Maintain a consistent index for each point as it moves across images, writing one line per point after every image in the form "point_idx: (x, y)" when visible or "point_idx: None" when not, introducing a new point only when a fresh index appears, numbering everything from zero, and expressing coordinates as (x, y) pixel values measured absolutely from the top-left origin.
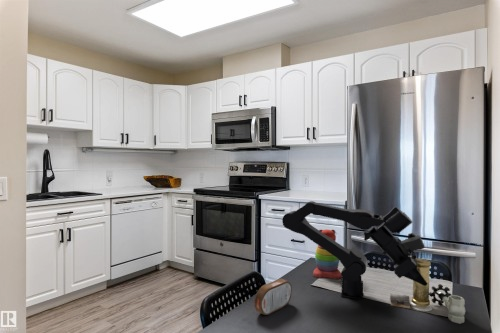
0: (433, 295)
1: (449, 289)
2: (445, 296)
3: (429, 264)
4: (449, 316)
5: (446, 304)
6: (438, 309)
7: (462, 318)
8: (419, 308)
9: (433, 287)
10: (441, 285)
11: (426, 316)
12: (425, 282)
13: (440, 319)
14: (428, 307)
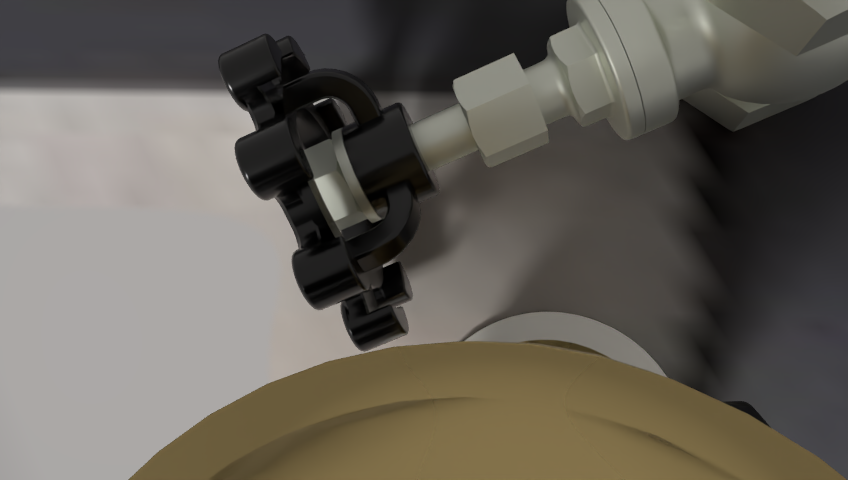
0: (375, 285)
1: (271, 37)
2: (470, 112)
3: (703, 399)
4: (767, 111)
5: (675, 113)
6: (517, 237)
7: None
8: None
9: (348, 277)
10: (290, 139)
11: (837, 383)
12: None
13: (830, 219)
14: None
